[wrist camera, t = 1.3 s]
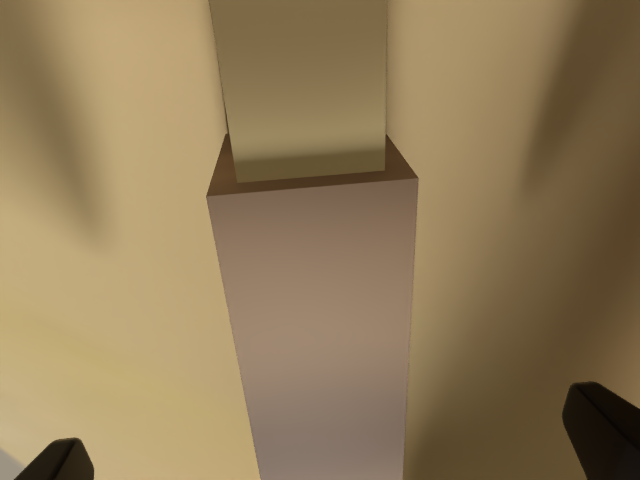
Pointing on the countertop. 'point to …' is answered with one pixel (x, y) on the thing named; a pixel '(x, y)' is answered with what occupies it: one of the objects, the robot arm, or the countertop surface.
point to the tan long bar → (314, 236)
